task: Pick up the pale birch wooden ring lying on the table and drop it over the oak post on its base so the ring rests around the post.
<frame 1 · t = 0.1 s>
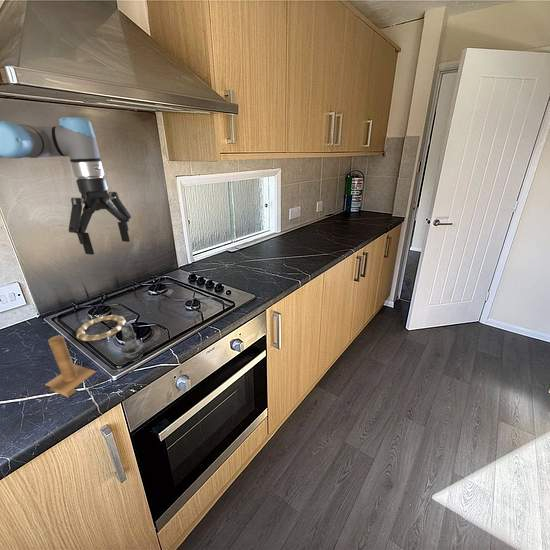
hand: (109, 247, 94), 27 cm above the worktop, tool pointing down, fingers open, 13 cm apart
post stand: (72, 382, 76), on the worktop
ring: (102, 328, 97), point 1 cm above the worktop
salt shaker: (135, 358, 84), on the worktop
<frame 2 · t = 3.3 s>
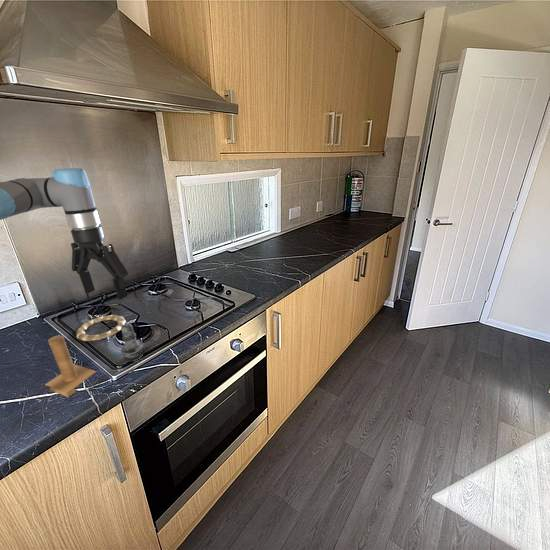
hand: (106, 294, 90), 14 cm above the worktop, tool pointing down, fingers open, 13 cm apart
nothing on the worktop moved.
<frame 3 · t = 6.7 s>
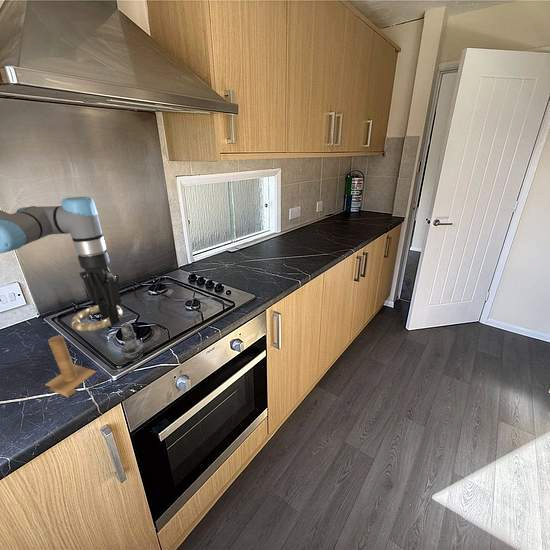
hand: (111, 322, 93), 5 cm above the worktop, tool pointing down, fingers closed on ring, 2 cm apart
ring: (97, 316, 95), point 6 cm above the worktop, touching gripper
everything else where it was.
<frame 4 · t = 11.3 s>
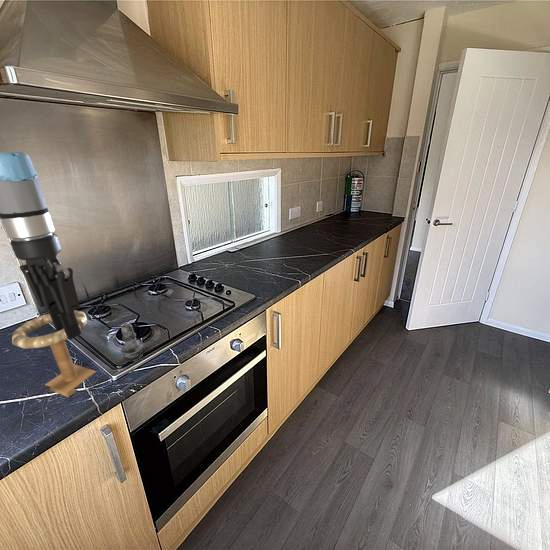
hand: (69, 334, 67), 16 cm above the worktop, tool pointing down, fingers closed on ring, 2 cm apart
ring: (51, 327, 69), point 17 cm above the worktop, touching gripper
everything else where it was.
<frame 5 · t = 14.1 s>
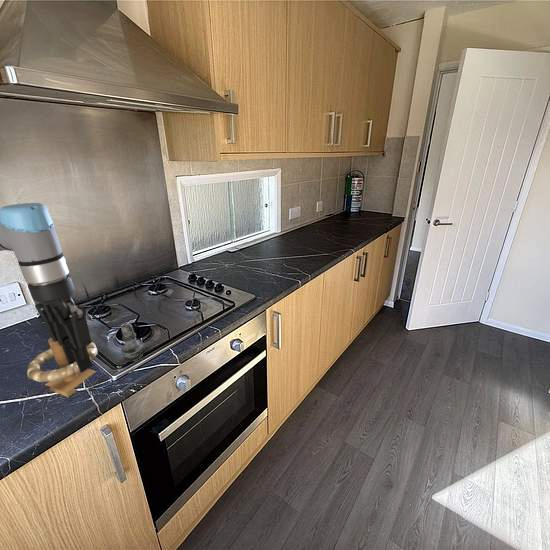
hand: (81, 367, 71), 7 cm above the worktop, tool pointing down, fingers closed on ring, 2 cm apart
ring: (63, 359, 73), point 7 cm above the worktop, touching gripper
everything else where it was.
when the fingers open (8 cm above the worktop, at t = 16.4 s): ring drops 6 cm, resting on post stand.
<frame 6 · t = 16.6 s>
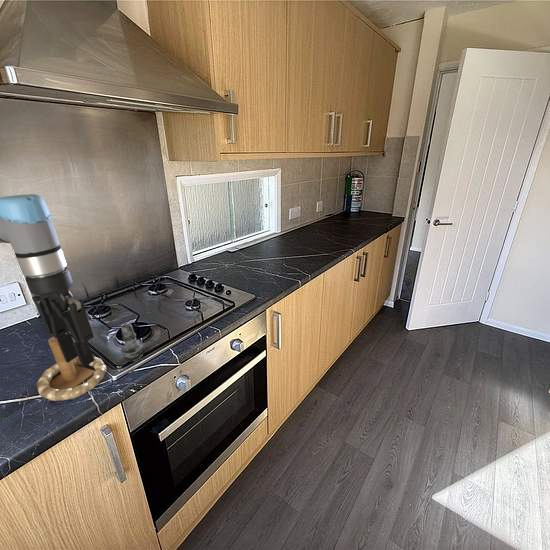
hand: (80, 361, 70), 9 cm above the worktop, tool pointing down, fingers open, 5 cm apart
ring: (73, 376, 74), point 2 cm above the worktop, tilted 7°, touching post stand
everything else where it was.
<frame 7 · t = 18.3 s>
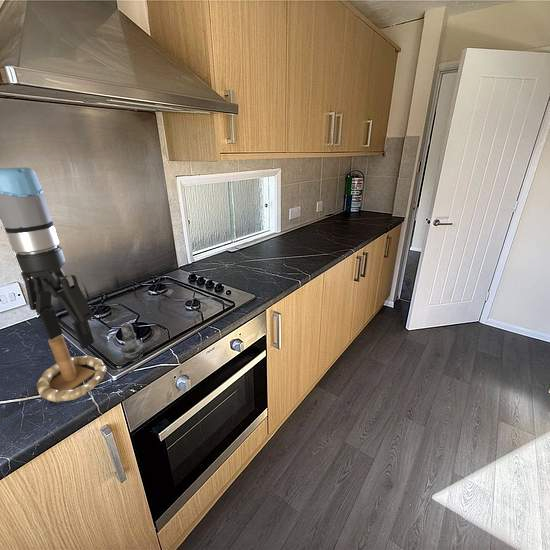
hand: (71, 340, 68), 14 cm above the worktop, tool pointing down, fingers open, 10 cm apart
ring: (73, 377, 74), point 2 cm above the worktop, tilted 9°, touching post stand
everything else where it was.
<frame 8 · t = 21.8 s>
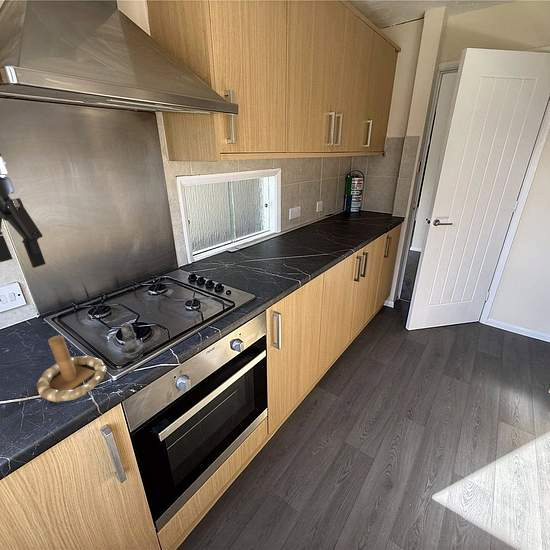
hand: (22, 263, 76), 29 cm above the worktop, tool pointing down, fingers open, 13 cm apart
nothing on the worktop moved.
at the end: ring 1.3 cm off-centre on the post stand, point 2.1 cm above the post stand's base; the gripper is holding nothing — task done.
